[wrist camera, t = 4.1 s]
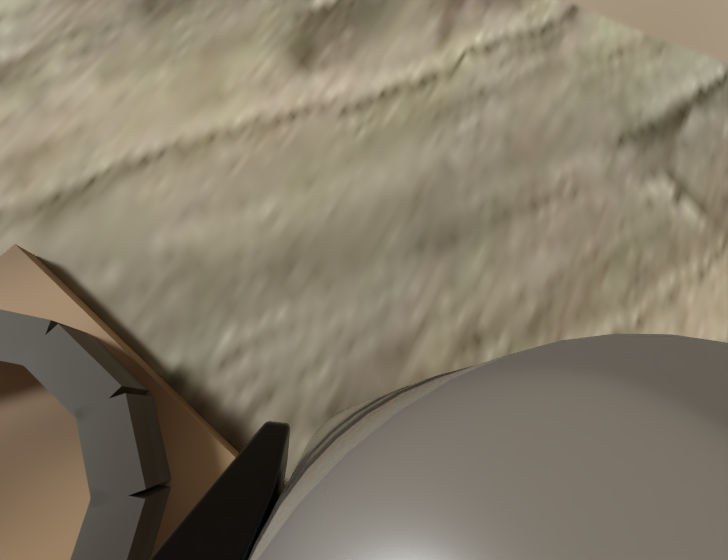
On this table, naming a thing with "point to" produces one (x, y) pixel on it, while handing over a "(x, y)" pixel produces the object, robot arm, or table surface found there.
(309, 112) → the table surface
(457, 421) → the cylinder
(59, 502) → the collar
